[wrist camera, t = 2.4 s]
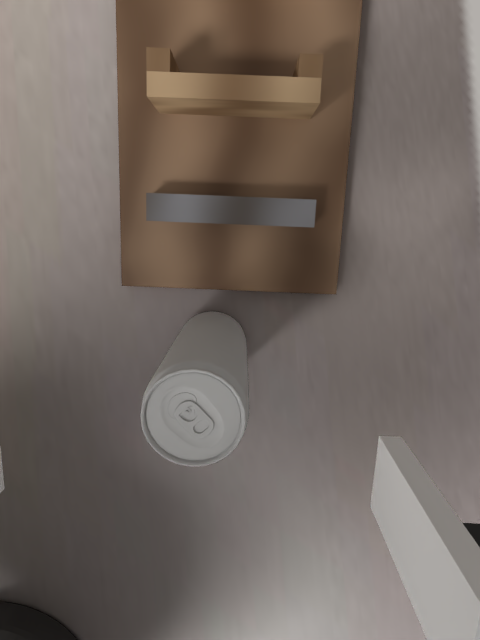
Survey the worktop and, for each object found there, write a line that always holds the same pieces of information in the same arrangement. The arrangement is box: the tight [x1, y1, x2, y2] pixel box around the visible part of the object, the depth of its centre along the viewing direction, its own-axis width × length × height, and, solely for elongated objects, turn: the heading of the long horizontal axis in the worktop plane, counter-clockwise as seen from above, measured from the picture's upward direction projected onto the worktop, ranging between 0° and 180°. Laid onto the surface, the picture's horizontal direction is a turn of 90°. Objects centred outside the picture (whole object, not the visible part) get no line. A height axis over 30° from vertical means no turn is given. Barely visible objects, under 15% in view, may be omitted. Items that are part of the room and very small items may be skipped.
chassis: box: [116, 0, 362, 294], centre depth 24 cm, size 14×22×5 cm, turn 178°
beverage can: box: [140, 311, 249, 467], centre depth 24 cm, size 5×5×12 cm
